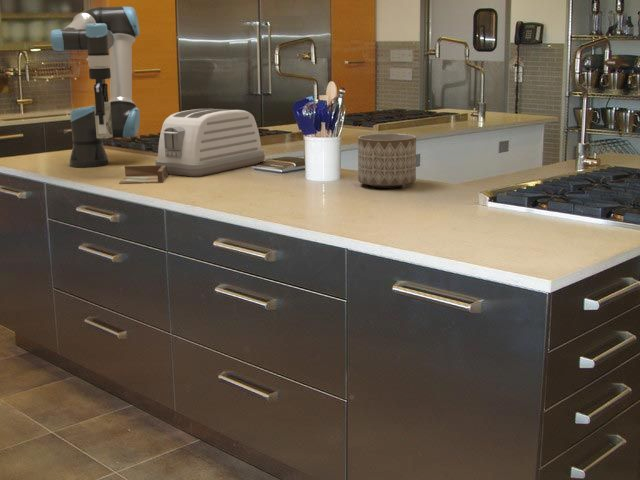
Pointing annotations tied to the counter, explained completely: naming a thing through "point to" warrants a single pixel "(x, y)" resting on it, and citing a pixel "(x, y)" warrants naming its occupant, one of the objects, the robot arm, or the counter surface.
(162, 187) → the counter surface
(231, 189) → the counter surface
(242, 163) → the toaster
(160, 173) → the arena
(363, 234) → the counter surface
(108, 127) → the box
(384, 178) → the planter
